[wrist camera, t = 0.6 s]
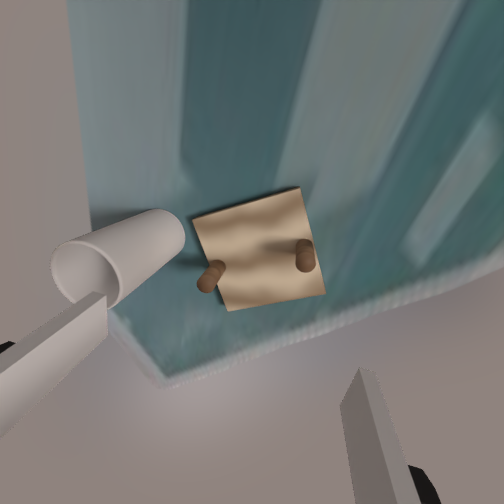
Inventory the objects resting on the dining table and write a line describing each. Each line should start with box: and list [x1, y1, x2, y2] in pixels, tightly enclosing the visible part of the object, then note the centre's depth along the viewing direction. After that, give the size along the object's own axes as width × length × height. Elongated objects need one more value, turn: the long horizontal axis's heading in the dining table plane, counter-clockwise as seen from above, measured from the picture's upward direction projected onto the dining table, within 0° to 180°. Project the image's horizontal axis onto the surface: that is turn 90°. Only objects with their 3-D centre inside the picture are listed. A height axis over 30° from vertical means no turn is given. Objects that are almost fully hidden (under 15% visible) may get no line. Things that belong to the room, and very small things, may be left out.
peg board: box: [192, 187, 326, 311], centre depth 36 cm, size 16×16×8 cm
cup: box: [50, 209, 185, 310], centre depth 34 cm, size 8×8×16 cm
